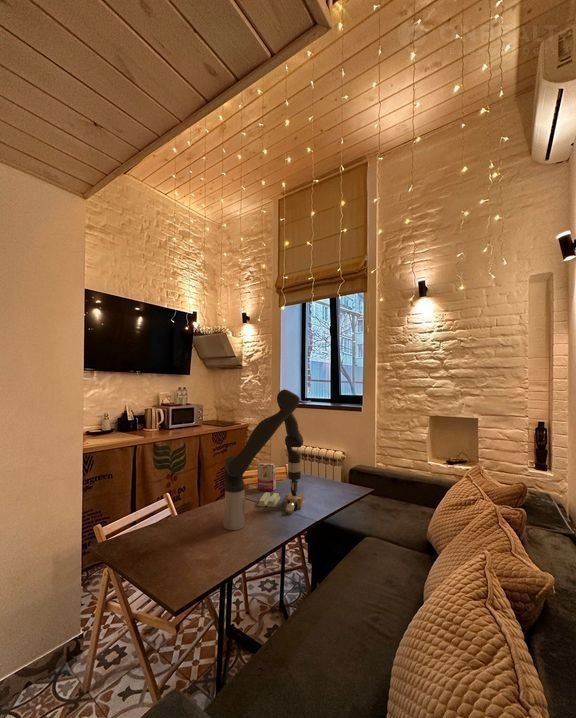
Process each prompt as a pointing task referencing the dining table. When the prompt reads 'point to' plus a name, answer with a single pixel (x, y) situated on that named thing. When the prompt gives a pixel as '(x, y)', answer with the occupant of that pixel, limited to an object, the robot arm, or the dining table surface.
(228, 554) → the dining table surface
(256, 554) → the dining table surface
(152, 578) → the dining table surface
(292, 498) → the bore block
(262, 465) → the candy bar box
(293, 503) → the steel axle
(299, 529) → the dining table surface
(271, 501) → the axle cradle
